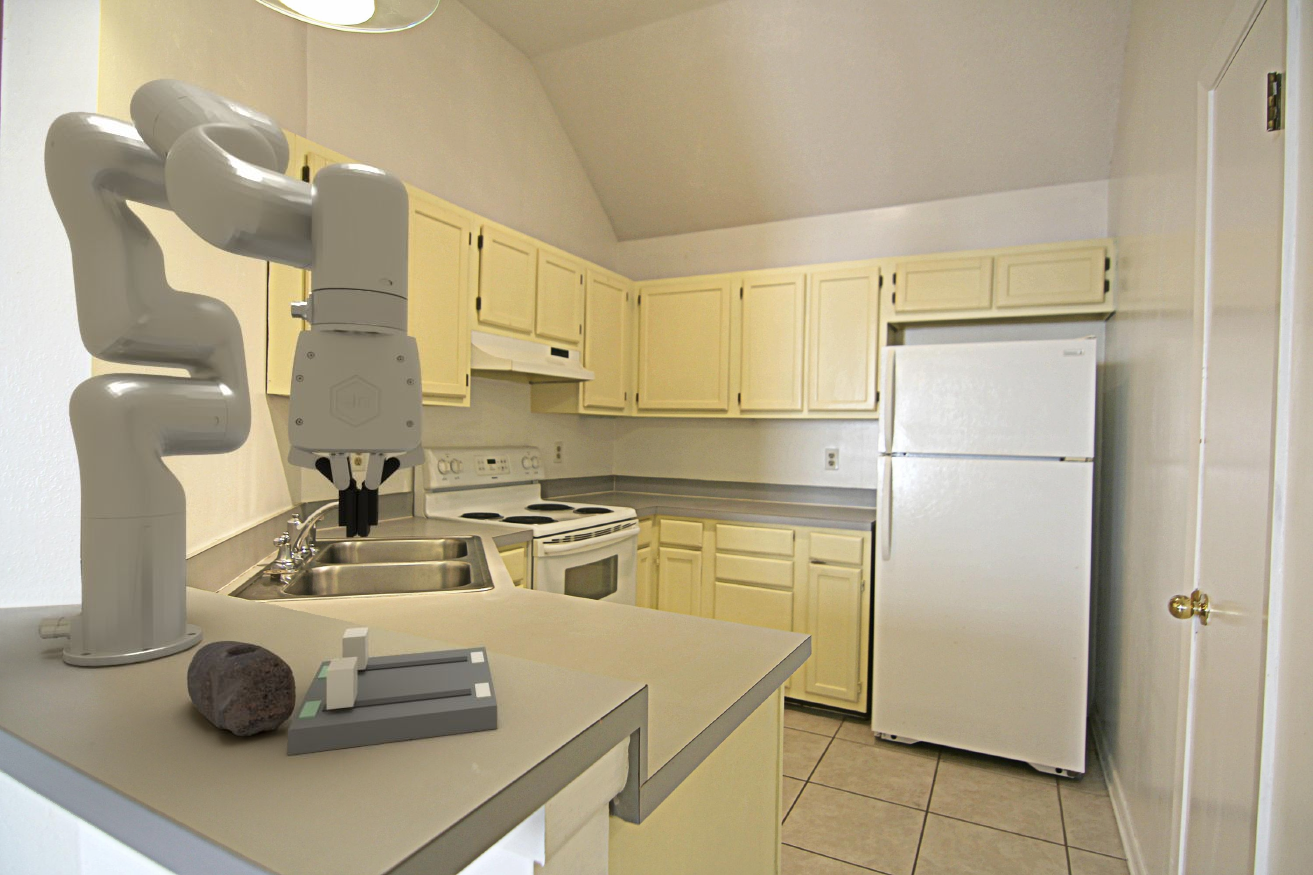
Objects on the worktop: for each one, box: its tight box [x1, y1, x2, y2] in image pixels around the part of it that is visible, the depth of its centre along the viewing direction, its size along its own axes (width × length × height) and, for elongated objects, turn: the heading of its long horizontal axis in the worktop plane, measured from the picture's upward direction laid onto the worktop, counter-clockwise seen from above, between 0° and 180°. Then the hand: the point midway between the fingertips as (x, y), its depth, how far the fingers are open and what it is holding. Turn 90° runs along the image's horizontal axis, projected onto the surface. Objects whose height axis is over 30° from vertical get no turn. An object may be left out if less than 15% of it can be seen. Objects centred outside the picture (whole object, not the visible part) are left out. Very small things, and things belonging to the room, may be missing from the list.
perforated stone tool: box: [186, 640, 297, 737], centre depth 59 cm, size 15×5×7 cm, turn 52°
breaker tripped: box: [327, 657, 357, 709], centre depth 57 cm, size 2×3×3 cm, turn 18°
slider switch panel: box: [287, 646, 498, 756], centre depth 62 cm, size 16×16×2 cm
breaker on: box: [342, 626, 370, 670], centre depth 65 cm, size 2×3×3 cm, turn 18°
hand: (358, 534), depth 57 cm, fingers closed
